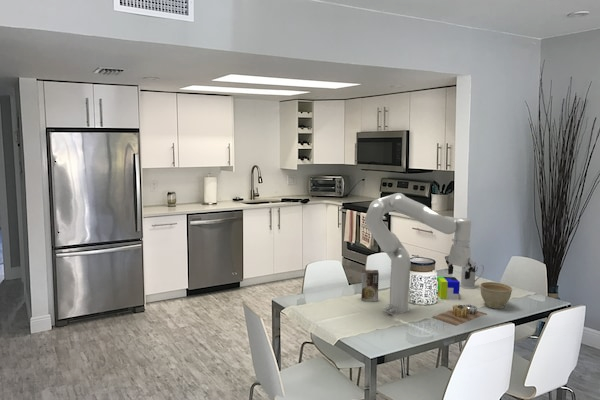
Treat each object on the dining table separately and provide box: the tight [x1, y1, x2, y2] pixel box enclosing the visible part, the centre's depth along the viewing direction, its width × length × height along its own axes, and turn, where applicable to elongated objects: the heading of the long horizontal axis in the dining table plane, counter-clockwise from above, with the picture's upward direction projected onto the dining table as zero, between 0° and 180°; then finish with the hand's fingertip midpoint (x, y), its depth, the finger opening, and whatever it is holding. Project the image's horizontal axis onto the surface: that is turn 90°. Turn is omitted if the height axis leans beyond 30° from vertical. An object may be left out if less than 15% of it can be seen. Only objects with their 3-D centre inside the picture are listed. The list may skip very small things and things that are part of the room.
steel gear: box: [463, 303, 478, 314], centre depth 260 cm, size 7×7×3 cm
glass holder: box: [460, 261, 485, 290], centre depth 307 cm, size 9×14×15 cm, turn 100°
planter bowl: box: [479, 281, 513, 309], centre depth 274 cm, size 16×16×11 cm
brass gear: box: [452, 304, 468, 317], centre depth 255 cm, size 7×7×4 cm
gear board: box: [431, 304, 487, 327], centre depth 255 cm, size 27×14×6 cm, turn 130°
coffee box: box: [360, 269, 380, 302], centre depth 280 cm, size 9×6×16 cm
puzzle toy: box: [436, 276, 461, 300], centre depth 288 cm, size 10×10×10 cm
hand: (458, 276), depth 255 cm, fingers open, 9 cm apart
